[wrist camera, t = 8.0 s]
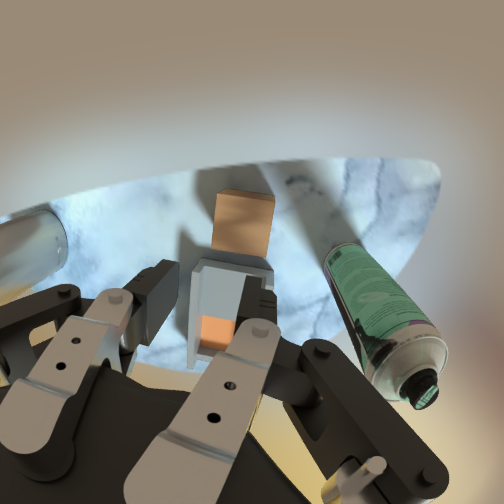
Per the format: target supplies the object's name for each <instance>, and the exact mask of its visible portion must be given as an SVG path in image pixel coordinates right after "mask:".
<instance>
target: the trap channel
mask: <svg viewBox="0 0 504 504" xmlns="http://www.w3.org/2000/svg"><path fill="white" fill-rule="evenodd" d="M246 275H249V276H255V277H261V278H262V284H261V288H262V289H268V290H272V291H273V289H274V271H272V270H266V269H260V268H254V267H249V266H243V265H237V264H232V263H226V262H221V261H215V260H210V259H204V258H201V260H200V261H199V262H198V264H197V265H196V267H195V268H194V269H193V271H192V276H191V290H190V304H189V321H188V343H187V368H189V369H193V368H194V365H195V363H196V360H201V361H206V362H211V361H212V359H213V358H214V356H215V355H216V353H217V352H218V351H222V352H225V350H226V349H227V347H228V345H229V344H230V342H231V340H232V339H233V335H234V329H235V323H236V317H237V312H238V308H239V304H240V299H241V295H242V291H243V286H244V282H245V278H246Z"/></svg>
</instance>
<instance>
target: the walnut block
mask: <svg viewBox="0 0 504 504" xmlns="http://www.w3.org/2000/svg"><path fill="white" fill-rule="evenodd" d="M274 207H275V196H273V195H267V194H261V193H254V192H248V191H241V190H234V189H227V188H226V189H225V190H223V191H221V192H219V193H217V199H216V207H215V216H214V225H213V234H212V243H211V249H216V250H222V251H229V252H235V253H241V254H247V255H253V256H259V257H266V254H267V249H268V243H269V237H270V231H271V225H272V219H273V213H274Z"/></svg>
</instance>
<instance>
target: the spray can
mask: <svg viewBox="0 0 504 504" xmlns="http://www.w3.org/2000/svg"><path fill="white" fill-rule="evenodd" d="M324 274H325V277H326V280H327V282H328V284H329V287H330V289H331V291H332V294H333V296H334V298H335V301H336V303H337V306H338V308H339V311H340V313H341V315H342V318H343V320H344V323H345V325H346V328H347V330H348V333H349V336H350V338H351V341H352V343H353V346H354V349H355V351H356V353H357V356H358V359H359V362H360V364H361V367H362V370H363V373H364V375H365V377H366V378H367V380H368V381H369V382H370V383H371V384H372V385H373V386H374V387H375V388H376V389H377V391H378V392H379V393H380V394H381V395H382V396H383V397H384V398H385V399H386V401H387V402H399V401H404V402H407V401H409V402H410V404H411V405H412V406H413V408H414V409H415V410H422V409H425V408H426V407H428V406H430V405H431V404H432V403H433V402H434V401H435V400H436V399H437V397H438V394H439V388H438V386H437V381H438V378H439V375H440V374H441V372H442V371H443V369H444V367H445V365H446V363H447V359H448V347H447V345H446V343H445V342H444V340H443V337H442V335H441V334H440V332H439V331H438V330H437V329H436V327H435V326H434V325H433V324H432V323H431V322H430V320H429V319H428V318H427V317H426V315H425V314H424V313H423V312H422V311H421V310H420V308H418V306H417V305H416V304H415V303H414V302H413V301H412V299H411V298H410V297H409V296H408V295H407V294H406V293H405V292H404V290H403V289H402V288H401V287H400V286H399V285H398V284H397V283H396V282H395V281H394V279H393V278H392V277H391V276H390V275H389V274H388V273H387V272H386V271H385V270H384V269H383V268H382V267H381V266H380V265H379V264H378V263H377V261H376V260H375V259H374V258H373V257H372V256H371V255H370V254H369V253H368V252H367V251H366V250H365V249H364V248H362V247H361V246H360V245H357V244H355V243H343V244H340V245H338V246H336V247H335V248H333V249H332V250H331V251H330V252H329V253H328V255H327V257H326V259H325V262H324Z"/></svg>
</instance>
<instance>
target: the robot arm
mask: <svg viewBox="0 0 504 504" xmlns="http://www.w3.org/2000/svg"><path fill="white" fill-rule="evenodd" d="M67 254H68V245H67V238H66V235H65V232H64V229H63V227H62V225H61V223H60V221H59V220H58V219H57V217H56V216H55V215H54V214H52V213H51V212H49V211H47V210H41V211H37V212H34V213H31V214H28V215H25V216H22V217H19V218H16V219H13V220H10V221H7V222H5V223H2V224H0V504H311V502H310V501H309V500H308V499H307V498H306V497H305V496H304V495H303V494H302V493H301V492H300V491H299V490H298V489H297V488H296V486H295V485H294V484H293V483H292V482H291V481H290V480H289V479H288V478H287V477H286V475H285V474H284V473H283V472H282V471H281V469H280V468H279V467H278V466H277V465H276V464H275V462H274V461H273V460H272V459H271V458H270V456H269V455H268V454H267V453H266V451H265V450H264V449H263V448H262V446H261V445H260V444H259V443H258V442H257V440H256V439H255V437H254V436H253V435H252V434H251V433H250V431H251V428H252V425H253V422H254V420H255V417H256V414H257V411H258V408H259V405H260V403H261V399H262V397H263V394H265V395H268V396H270V397H273V398H275V399H278V400H281V401H283V407H284V409H285V411H286V412H287V414H288V416H289V418H290V419H291V421H292V423H293V425H294V426H295V428H296V430H297V432H298V433H299V435H300V437H301V439H302V440H303V442H304V444H305V445H306V447H307V449H308V450H309V452H310V454H311V455H312V457H313V459H314V460H315V462H316V464H317V465H318V467H319V469H320V470H321V472H322V473H323V475H324V477H325V478H326V480H327V481H326V482H325V484H324V485H323V487H322V490H321V497H322V500H323V503H324V504H428V503H430V502H431V501H433V500H435V499H436V498H437V497H439V496H440V495H442V493H444V492H445V490H446V489H447V486H448V484H449V473H448V470H447V468H446V466H445V465H444V464H443V463H442V462H441V460H440V459H439V458H438V457H437V456H436V455H435V454H434V453H433V452H432V450H431V449H430V448H429V447H428V446H427V445H426V444H425V443H424V442H423V441H422V439H421V438H420V437H419V436H418V435H417V434H416V433H415V432H414V430H413V429H412V428H411V427H410V426H409V425H408V424H407V423H406V422H405V421H404V419H403V418H402V417H401V416H400V415H399V414H398V413H397V412H396V411H395V409H394V408H393V407H392V406H391V405H390V404H389V403H388V402H387V401H386V399H385V398H384V397H383V396H382V395H381V394H380V393H379V392H378V391H377V389H376V388H375V387H374V386H373V385H372V384H371V383H370V382H369V381H368V380H367V378H366V377H365V376H364V375H363V374H362V373H361V372H360V371H359V370H358V368H357V367H356V366H355V365H354V364H353V363H352V362H351V361H350V360H349V358H348V357H347V356H346V355H345V354H344V353H343V352H342V351H341V350H340V349H339V347H337V346H336V345H335V344H333V343H332V342H329V341H327V340H323V339H309V340H307V341H305V342H304V343H303V345H302V346H299V345H296V344H294V343H291V342H289V341H287V340H286V339H284V338H283V337H282V336H281V331H280V328H279V327H278V326H277V296H276V295H275V294H274V292H273V291H272V290H268V289H262V288H261V284H262V278H261V277H255V276H249V275H246V278H245V282H244V286H243V291H242V295H241V299H240V304H239V308H238V312H237V317H236V323H235V329H234V335H233V339H232V340H231V342H230V344H229V345H228V347H227V349H226V350H225V352H222V351H218V352H217V353H216V355H215V356H214V358H213V359H212V361H211V362H210V364H209V366H208V367H207V369H206V370H205V372H204V373H203V375H202V377H201V378H200V380H199V381H198V383H197V384H196V386H195V387H194V389H193V390H192V392H191V393H190V392H186V391H178V390H177V391H176V390H165V389H153V388H147V387H145V386H142V385H141V384H139V383H137V382H136V381H134V380H132V379H131V378H130V376H131V373H132V369H133V366H134V363H135V360H136V357H137V346H138V345H139V344H142V345H145V346H149V345H150V344H151V342H152V340H153V339H154V337H155V336H156V334H157V332H158V331H159V329H160V328H161V326H162V325H163V323H164V321H165V320H166V318H167V317H168V315H169V314H170V312H171V310H172V309H173V307H174V306H175V304H176V301H177V296H178V282H179V262H176V261H170V260H165V259H163V260H161V261H160V262H159V263H158V264H157V265H156V266H155V267H149V268H146V269H144V270H142V271H141V272H140V273H138V274H137V276H135V277H134V278H133V280H131V281H130V282H129V283H127V284H126V285H125V286H124V287H123V288H122V289H120V288H112V289H107V290H104V291H102V292H101V293H100V294H99V295H98V296H97V298H96V299H86V298H81V292H80V289H79V287H77V286H75V285H72V284H61V285H57V286H54V287H51V288H48V289H46V290H43V291H40V292H37V293H34V294H32V295H29V296H26V297H23V298H21V299H18V300H15V301H13V302H11V301H12V300H14V299H15V298H17V297H18V296H19V295H21V294H22V293H24V292H25V291H27V290H28V289H30V288H32V287H33V286H35V285H36V284H38V283H39V282H41V281H42V280H44V279H46V278H47V277H49V276H50V275H52V274H53V273H55V272H57V271H58V270H60V269H61V268H62V267H63V266H64V264H65V262H66V259H67ZM9 302H10V303H9ZM53 320H54V323H55V328H56V332H57V334H56V335H55V336H54V337H52V338H50V339H48V340H46V341H43V342H41V343H39V344H37V345H35V346H33V347H31V344H30V341H29V334H30V332H31V331H32V330H33V329H34V328H37V327H39V326H41V325H44V324H46V323H48V322H51V321H53Z"/></svg>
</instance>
